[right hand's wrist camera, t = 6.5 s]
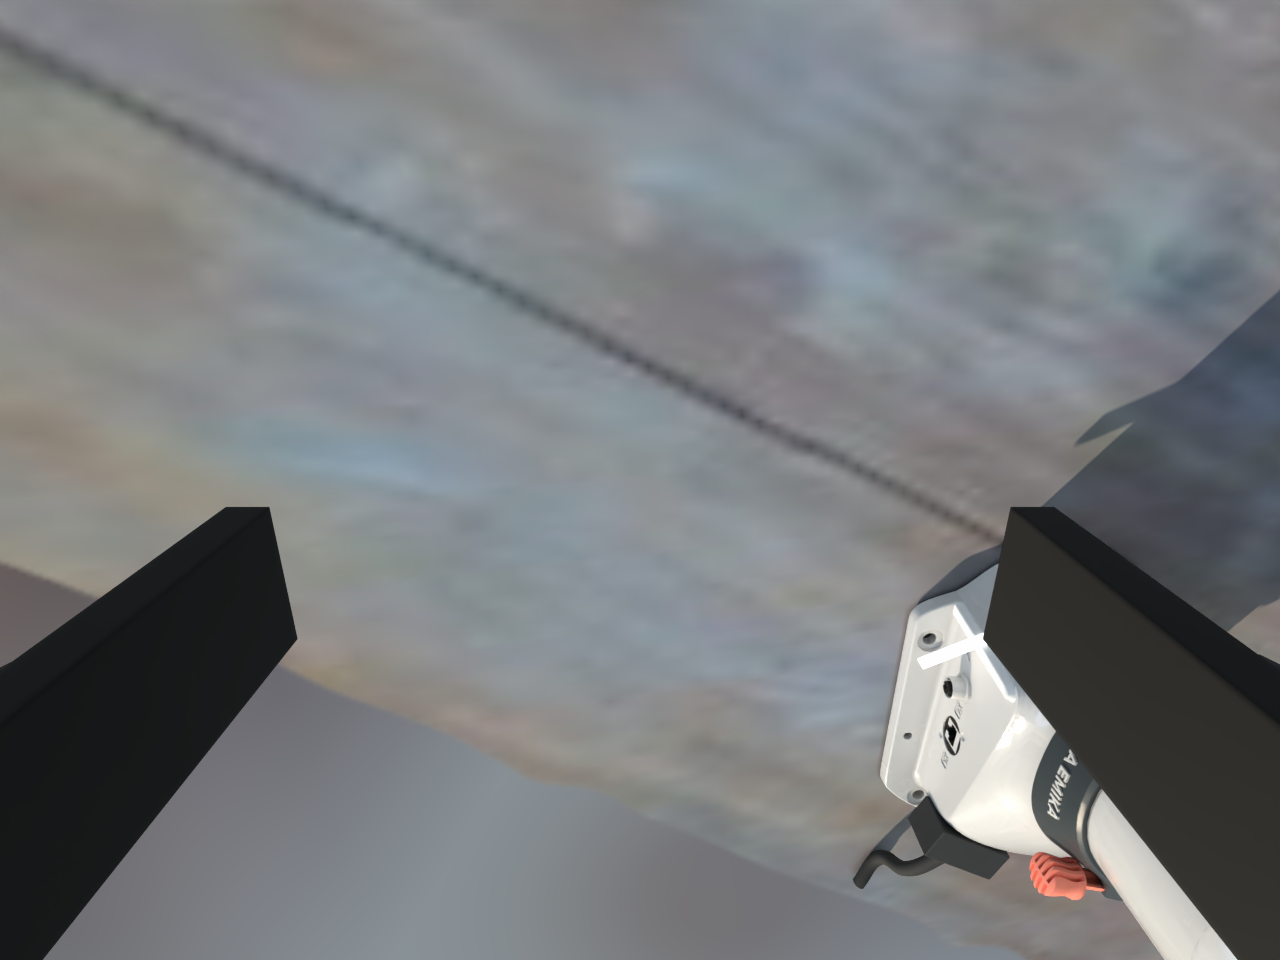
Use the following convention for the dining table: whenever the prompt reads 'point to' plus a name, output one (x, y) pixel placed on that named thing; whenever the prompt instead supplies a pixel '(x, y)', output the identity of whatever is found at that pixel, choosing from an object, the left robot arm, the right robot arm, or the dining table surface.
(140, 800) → the right robot arm
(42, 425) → the dining table surface
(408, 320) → the dining table surface
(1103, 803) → the left robot arm
